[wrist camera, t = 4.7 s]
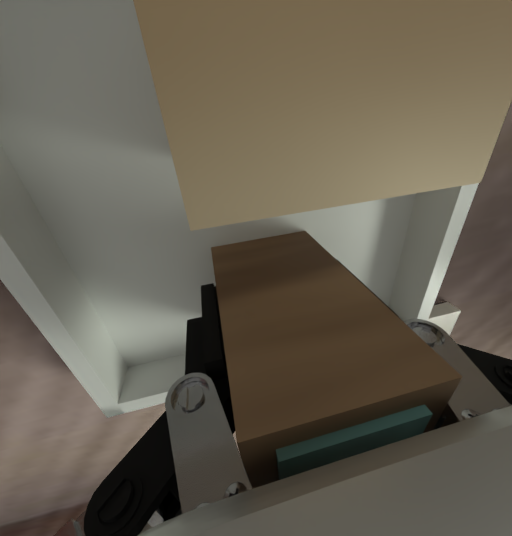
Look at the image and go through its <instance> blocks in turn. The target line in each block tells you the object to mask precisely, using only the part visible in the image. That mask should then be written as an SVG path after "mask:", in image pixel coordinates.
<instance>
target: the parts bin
mask: <svg viewBox="0 0 512 536" xmlns="http://www.w3.org/2000/svg"><path fill="white" fill-rule="evenodd" d="M478 184H479V183H475V184H469V185H463V186H457V187H451V188H445V189H439V190H433V191H427V192H421V193H415V194H409V195H403V196H397V197H391V198H385V199H379V200H373V201H367V202H361V203H355V204H349V205H343V206H337V207H331V208H325V209H319V210H313V211H307V212H301V213H295V214H289V215H283V216H277V217H271V218H265V219H259V220H253V221H247V222H241V223H235V224H229V225H223V226H217V227H211V228H205V229H199V230H193V231H190V227H189V223H188V219H187V215H186V211H185V207H184V203H183V199H182V195H181V191H180V187H179V183H178V179H177V175H176V171H175V167H174V163H173V159H172V155H171V151H170V147H169V143H168V139H167V135H166V131H165V127H164V123H163V118H162V114H161V110H160V106H159V102H158V98H157V94H156V90H155V86H154V82H153V78H152V74H151V70H150V66H149V62H148V58H147V54H146V50H145V46H144V42H143V38H142V34H141V30H140V26H139V22H138V18H137V14H136V10H135V6H134V2H133V0H0V280H1V281H2V282H3V283H4V285H5V286H6V287H7V289H8V290H9V291H10V293H11V294H12V295H13V296H14V298H15V299H16V300H17V302H18V303H19V304H20V305H21V307H22V308H23V309H24V311H25V312H26V313H27V315H28V316H29V317H30V318H31V320H32V321H33V322H34V324H35V325H36V326H37V328H38V329H39V330H40V331H41V333H42V334H43V335H44V337H45V338H46V339H47V340H48V342H49V343H50V344H51V346H52V347H53V348H54V350H55V351H56V352H57V353H58V355H59V356H60V357H61V359H62V360H63V361H64V362H65V364H66V365H67V366H68V368H69V369H70V370H71V372H72V373H73V374H74V375H75V377H76V378H77V379H78V381H79V382H80V383H81V385H82V386H83V387H84V388H85V390H86V391H87V392H88V394H89V395H90V396H91V397H92V399H93V400H94V401H95V403H96V404H97V405H98V407H99V408H100V409H101V410H102V412H103V413H104V414H105V416H106V417H107V418H108V417H112V416H116V415H119V414H123V413H127V412H131V411H135V410H139V409H142V408H146V407H150V406H154V405H158V404H162V403H165V399H166V396H167V393H168V391H169V389H170V388H171V386H172V385H173V384H174V383H175V382H176V381H177V380H178V379H179V378H181V377H183V376H185V356H186V331H187V320H189V319H194V318H198V317H202V307H201V285H206V284H212V283H214V286H216V282H215V275H214V267H213V260H212V253H211V247H216V246H222V245H227V244H233V243H238V242H244V241H250V240H255V239H261V238H267V237H272V236H278V235H284V234H289V233H295V232H300V231H306V232H307V233H308V234H309V235H310V236H311V237H312V238H314V239H315V240H316V241H317V242H318V243H319V244H320V245H321V246H322V247H323V248H324V249H325V250H326V251H328V252H329V253H330V254H331V255H332V256H333V257H334V258H335V259H337V260H338V261H339V262H341V263H342V264H343V265H344V266H345V267H346V268H347V269H348V270H349V271H350V272H351V273H352V274H354V275H355V276H356V277H357V278H358V279H359V280H360V281H361V282H362V283H363V284H364V285H365V286H367V287H368V288H369V289H370V290H371V291H372V292H373V293H374V294H375V295H376V296H377V297H379V298H380V299H381V300H382V301H383V302H384V303H385V304H386V305H387V306H388V307H389V308H390V309H392V310H393V311H394V312H395V313H396V314H397V315H398V316H399V318H400V319H401V320H403V321H406V320H409V319H422V320H426V321H428V319H429V316H430V313H431V311H432V308H433V305H434V303H435V300H436V297H437V295H438V292H439V289H440V286H441V284H442V281H443V278H444V276H445V273H446V270H447V268H448V265H449V262H450V260H451V257H452V254H453V251H454V249H455V246H456V243H457V241H458V238H459V235H460V233H461V230H462V227H463V225H464V222H465V219H466V216H467V214H468V211H469V208H470V206H471V203H472V200H473V198H474V195H475V192H476V190H477V187H478Z"/></svg>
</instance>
